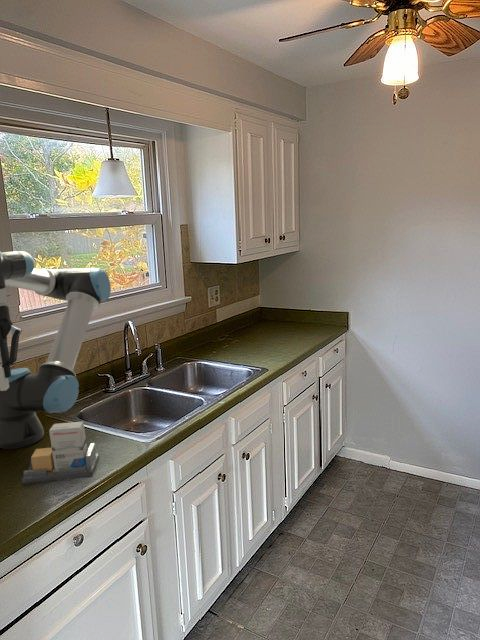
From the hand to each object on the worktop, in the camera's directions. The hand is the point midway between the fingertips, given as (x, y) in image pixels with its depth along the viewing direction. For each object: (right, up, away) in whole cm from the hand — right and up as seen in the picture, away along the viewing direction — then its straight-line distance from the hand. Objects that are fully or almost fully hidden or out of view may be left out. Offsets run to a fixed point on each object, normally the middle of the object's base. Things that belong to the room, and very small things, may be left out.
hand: (5, 389), depth 134 cm
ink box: (+17, -22, +3) cm, 28 cm away
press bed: (+15, -24, +3) cm, 28 cm away
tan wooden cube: (+10, -22, +3) cm, 25 cm away
